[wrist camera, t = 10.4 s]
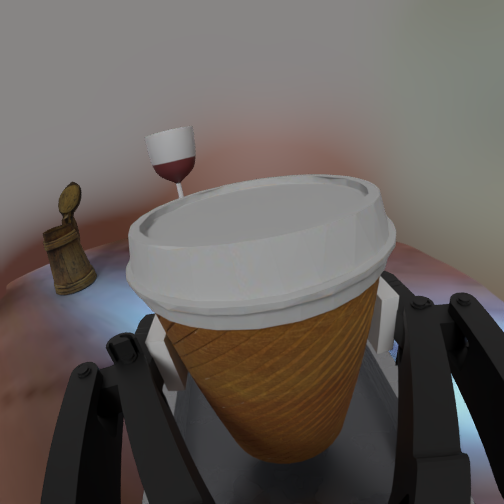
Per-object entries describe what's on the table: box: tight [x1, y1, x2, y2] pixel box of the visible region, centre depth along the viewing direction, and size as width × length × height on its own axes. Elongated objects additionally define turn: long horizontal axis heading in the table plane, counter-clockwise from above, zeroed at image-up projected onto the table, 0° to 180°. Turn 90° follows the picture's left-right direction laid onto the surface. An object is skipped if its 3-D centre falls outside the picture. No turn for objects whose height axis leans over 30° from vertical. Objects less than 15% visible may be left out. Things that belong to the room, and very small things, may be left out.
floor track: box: [142, 339, 475, 504], centre depth 16 cm, size 22×16×3 cm
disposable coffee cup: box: [126, 174, 396, 464], centre depth 12 cm, size 10×10×12 cm
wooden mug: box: [43, 182, 97, 295], centre depth 47 cm, size 9×14×18 cm, turn 0°
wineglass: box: [145, 126, 195, 198], centre depth 53 cm, size 9×10×22 cm
